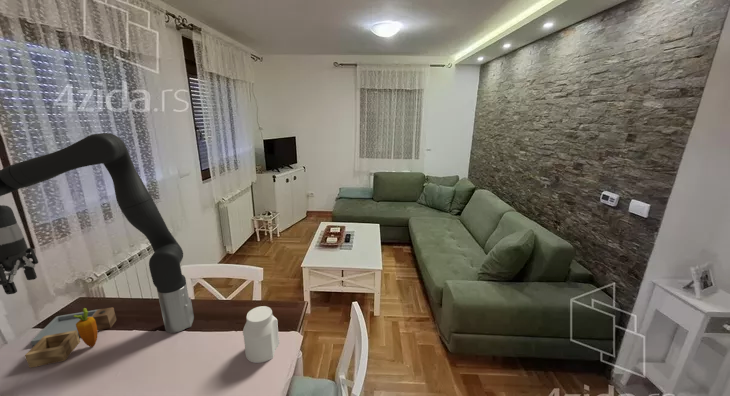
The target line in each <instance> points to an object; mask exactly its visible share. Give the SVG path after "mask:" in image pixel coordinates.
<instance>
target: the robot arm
mask: <svg viewBox="0 0 730 396" xmlns="http://www.w3.org/2000/svg"><path fill="white" fill-rule="evenodd" d="M101 164H102V165H103V166H104V167H105V169H106V170H107V171H108V174H109V176H110V177H111V179H112V183H113V188H114V194H115V198H116V202H117V205H118V207H119V209H120V210H121V212H122V214H123V215H124V217H125V218H126V221H127V222H128V223H129V224H131V225H132V227H134V228H135V229H136V230H137V231H139V232H141V233H142V234H143V235H144V236H145V237H146V239H147V240H148V242H149V244H150V245H151V248H152V249H153V253H152V254H151V256H150V258H149V262H148V266H149V268H148V269H149V272H150V276H151V279H152V283H153V286H154V287H155V288H156V290H157V296H158V302H159V305H160V310H161V316H162V319H163V325H164V330H165V332H166V333H170V334H174V333H179V332H181V331H184V330H185V329H188V328H192V325H193V322H194V319H195V315H194V309H193V304H192V298H191V297H189V292H188V284H187V280H186V277H185V275H184V274H183V273H182V269H181V262H182V261H183V259H184V251H183V249H182V247H181V246H180V244H179V243H178V241H177V240H176V238H174V236H173V235H172V233H171V231H170V230H169V228H168V226H167V224H166V222H165V219H164V218H163V216H162V214H161V213H160V211H159V208H158V207H157V205H156V203H155V200H154V199H153V197H152V196H151V194H150V192H149V190H148V189H147V187H146V185H145V183H144V181H143V180H142V178H141V177H140V175H139V173H138V172H137V170H136V168H135V166H134V163H133V161H132V158H131V155H130V153H129V150H128V148H127V145H126V144H125V142H124V141H123V139H121V138H120V137H118V136H117V135H115V134H113V133H107V132H103V133H102V132H101V133H93V134H89V135H88V136H86V137H84V138H82V139H80V140H78V141H77V142H74V143H72V144H70V145H68V146H66V147H64V148H62V149H59V150H56V151H54V152H50V153H47V154H43V155H40V156H37V157H32V158H30V159H29V158H28V159H26V160H22V161H20V162H16V163H13V164H10V165H8V166H5V167H3V168H2V169H0V197H2V196H5V195H7V194H10V193H13V192H16V191H18V190H20V189H25V188H27V187H31V186H34V185H37V184H40V183H43V182H45V181H49V180H51V179H54V178H55V177H58V176H60V175H62V174H64V173H67V172H70V171H72V170H76V169H80V168H84V167H85V168H86V167H89V166H90V167H91V166H95V165H101ZM25 239H26V238H25V236H24V235H23V232H22V228H21V227H20V225H19V224H18V221H17V219H16V217H15V214H14V211H13V209H12V208H11V207H10V206H8V205H2V204H0V286H2V288H3V290H4V294H6V295H13V294H16V293H18V289H17V286H16V283H15V282H14V279H15V278H14V277H15V276H16V275H17V273H18V271H19V270H20V269H22V270H23V273H24V275H25V278H26V280H27V281H33V280H36V279H37V278H38V275H37V273H36V269H35V268H36V265H38V264H39V259H38V257H37V256H36V253H35V251H34V248H33V247H28V245H27V242H26V240H25ZM7 277H8V278H7Z"/></svg>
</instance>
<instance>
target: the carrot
mask: <svg viewBox="0 0 730 396" xmlns="http://www.w3.org/2000/svg"><path fill="white" fill-rule="evenodd" d="M88 311H89V310H88V309H87V308H86V307H84V308H82V312H84V314H83V316H82V315H81V316H80V315H74V316H73V317H77V318H79V319H81V320H80V321H78V322H77V323H76V327H77V330H78V333H79V335H80V337H81V340H82V341H83V342H84V344H85V345H86V346H88V347H90V348H94V347H95V345H96V343H97V341H98V335H99V334H98V331H97V325H96V321H95V319H94V318H93V317H87V315H88Z"/></svg>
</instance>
